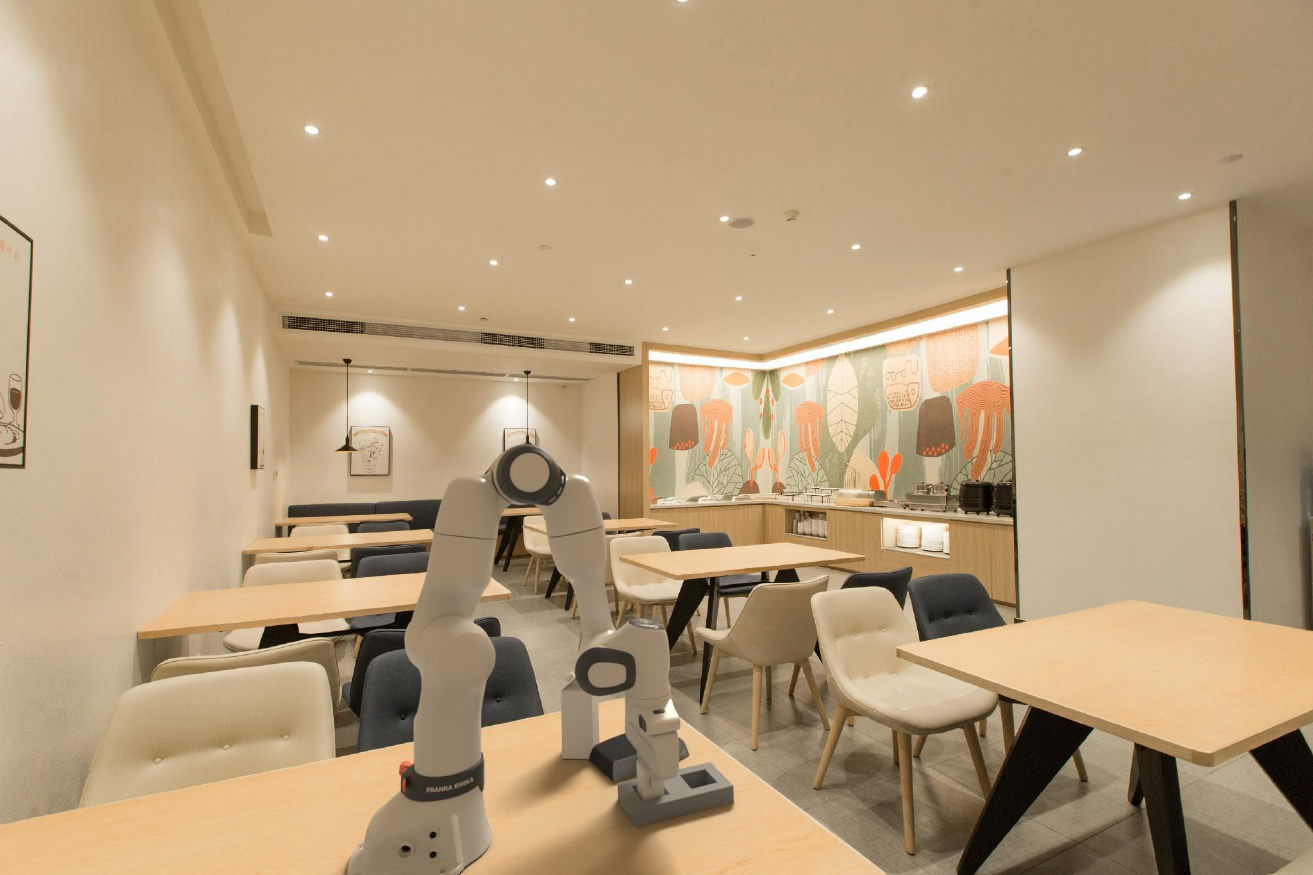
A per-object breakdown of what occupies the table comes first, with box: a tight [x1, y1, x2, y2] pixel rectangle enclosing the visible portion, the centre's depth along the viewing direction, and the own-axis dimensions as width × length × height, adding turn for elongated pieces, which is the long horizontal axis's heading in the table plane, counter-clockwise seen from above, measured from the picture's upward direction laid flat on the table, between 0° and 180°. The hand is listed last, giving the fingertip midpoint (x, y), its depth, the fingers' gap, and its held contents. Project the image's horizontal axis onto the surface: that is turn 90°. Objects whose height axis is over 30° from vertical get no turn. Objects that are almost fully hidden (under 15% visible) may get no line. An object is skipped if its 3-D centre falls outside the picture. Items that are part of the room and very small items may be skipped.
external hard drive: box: [588, 732, 690, 783], centre depth 130 cm, size 13×19×4 cm
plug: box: [636, 759, 664, 801], centre depth 111 cm, size 4×4×9 cm
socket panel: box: [617, 761, 735, 828], centre depth 112 cm, size 20×10×3 cm, turn 111°
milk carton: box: [560, 671, 600, 760], centre depth 134 cm, size 7×7×19 cm
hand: (650, 781), depth 111 cm, fingers closed on plug, 4 cm apart
